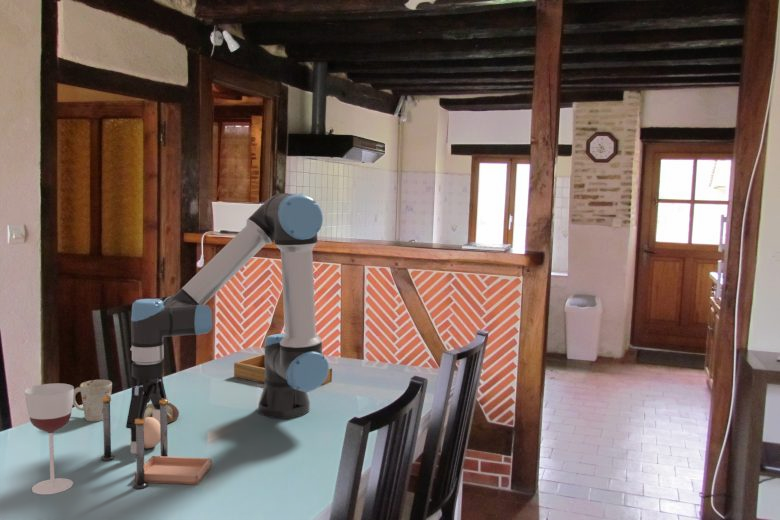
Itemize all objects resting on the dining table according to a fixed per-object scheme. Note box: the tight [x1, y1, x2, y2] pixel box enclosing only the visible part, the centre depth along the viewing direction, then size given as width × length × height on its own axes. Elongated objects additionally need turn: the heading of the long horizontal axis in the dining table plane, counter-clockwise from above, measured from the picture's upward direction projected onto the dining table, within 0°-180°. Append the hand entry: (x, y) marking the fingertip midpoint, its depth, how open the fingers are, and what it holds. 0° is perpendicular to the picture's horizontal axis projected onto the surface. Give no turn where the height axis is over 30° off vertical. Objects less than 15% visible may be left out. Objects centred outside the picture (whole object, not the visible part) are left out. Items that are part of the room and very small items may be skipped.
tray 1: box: [134, 455, 212, 486], centre depth 161 cm, size 14×10×2 cm
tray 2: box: [233, 353, 333, 387], centre depth 240 cm, size 31×15×6 cm, turn 60°
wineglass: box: [24, 382, 75, 496], centre depth 153 cm, size 9×10×22 cm
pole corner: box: [159, 398, 169, 457], centre depth 168 cm, size 3×3×15 cm
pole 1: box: [100, 396, 115, 462], centre depth 169 cm, size 3×3×15 cm
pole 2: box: [133, 418, 149, 490], centre depth 154 cm, size 3×3×15 cm
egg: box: [144, 417, 161, 449], centre depth 177 cm, size 7×7×8 cm
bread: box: [143, 402, 180, 425], centre depth 197 cm, size 11×11×5 cm
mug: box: [73, 379, 113, 422], centre depth 198 cm, size 8×13×10 cm, turn 78°
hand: (147, 443), depth 177 cm, fingers open, 13 cm apart
